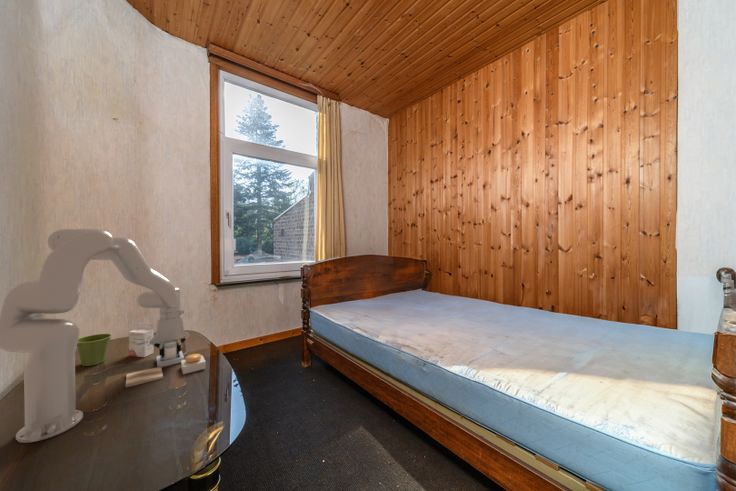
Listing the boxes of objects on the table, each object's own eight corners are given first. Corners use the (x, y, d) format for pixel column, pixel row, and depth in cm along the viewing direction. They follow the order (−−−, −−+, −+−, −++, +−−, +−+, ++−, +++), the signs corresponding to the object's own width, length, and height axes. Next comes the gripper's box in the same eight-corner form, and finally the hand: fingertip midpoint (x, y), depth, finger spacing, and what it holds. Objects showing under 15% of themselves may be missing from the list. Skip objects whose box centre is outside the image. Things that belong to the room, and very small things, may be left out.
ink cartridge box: (128, 356, 125) (127, 325, 125) (138, 352, 130) (137, 322, 130) (144, 357, 125) (144, 326, 124) (154, 353, 129) (154, 322, 129)
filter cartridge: (177, 361, 121) (177, 341, 120) (163, 364, 117) (163, 344, 117) (176, 357, 125) (176, 338, 124) (162, 360, 121) (162, 341, 121)
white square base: (205, 368, 114) (205, 361, 114) (183, 374, 109) (183, 367, 109) (202, 361, 120) (202, 355, 120) (180, 367, 115) (180, 360, 115)
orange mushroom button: (202, 366, 114) (201, 356, 114) (186, 370, 111) (186, 360, 111) (199, 362, 119) (199, 352, 119) (184, 365, 115) (184, 356, 115)
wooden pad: (162, 378, 106) (162, 376, 106) (125, 387, 99) (125, 385, 99) (161, 367, 114) (161, 366, 114) (126, 376, 107) (126, 374, 107)
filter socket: (184, 361, 120) (184, 357, 120) (157, 368, 114) (157, 363, 114) (181, 354, 128) (181, 350, 128) (156, 360, 121) (156, 356, 121)
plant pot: (117, 360, 121) (117, 335, 121) (81, 371, 111) (81, 344, 111) (105, 355, 126) (104, 331, 126) (69, 365, 116) (68, 339, 115)
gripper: (191, 310, 129) (191, 347, 129) (145, 316, 118) (145, 357, 118) (193, 313, 123) (193, 352, 124) (145, 320, 112) (145, 363, 113)
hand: (170, 354), depth 121 cm, fingers closed on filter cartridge, 5 cm apart
